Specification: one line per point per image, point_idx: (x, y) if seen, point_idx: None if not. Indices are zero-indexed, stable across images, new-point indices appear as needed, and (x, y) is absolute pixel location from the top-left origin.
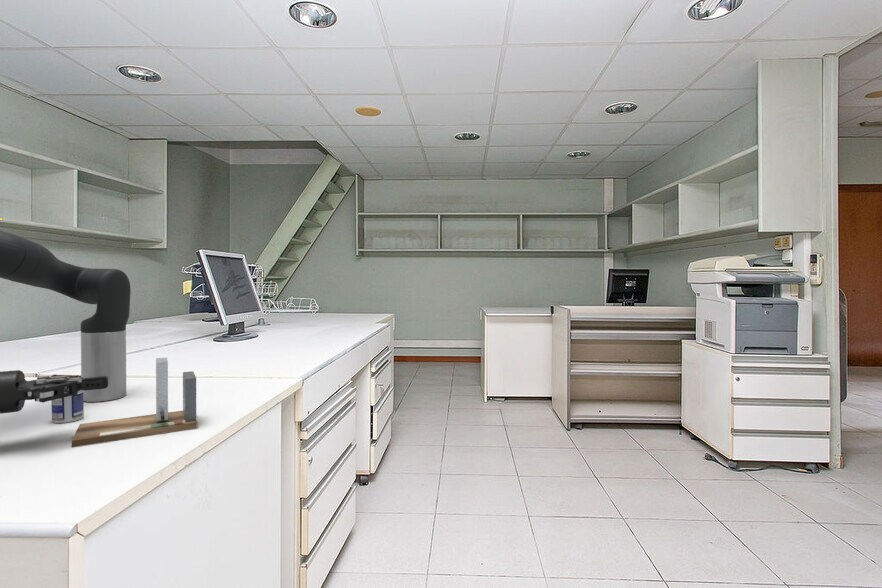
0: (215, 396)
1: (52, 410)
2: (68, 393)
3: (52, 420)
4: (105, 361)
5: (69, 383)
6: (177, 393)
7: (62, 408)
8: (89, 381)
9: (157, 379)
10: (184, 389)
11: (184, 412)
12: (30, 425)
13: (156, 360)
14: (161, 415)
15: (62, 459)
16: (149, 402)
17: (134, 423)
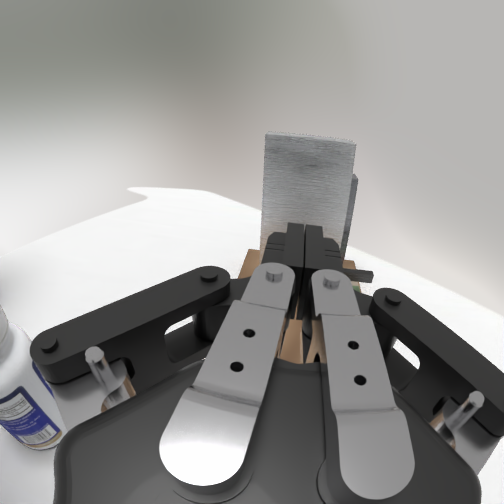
0: (150, 223)
1: (14, 431)
2: (397, 362)
3: (31, 447)
4: None
5: (426, 312)
6: (68, 245)
7: (40, 414)
8: (338, 267)
9: (349, 192)
10: None
11: None
12: (13, 488)
13: (311, 138)
14: (366, 273)
15: None
16: (75, 280)
17: (293, 327)
